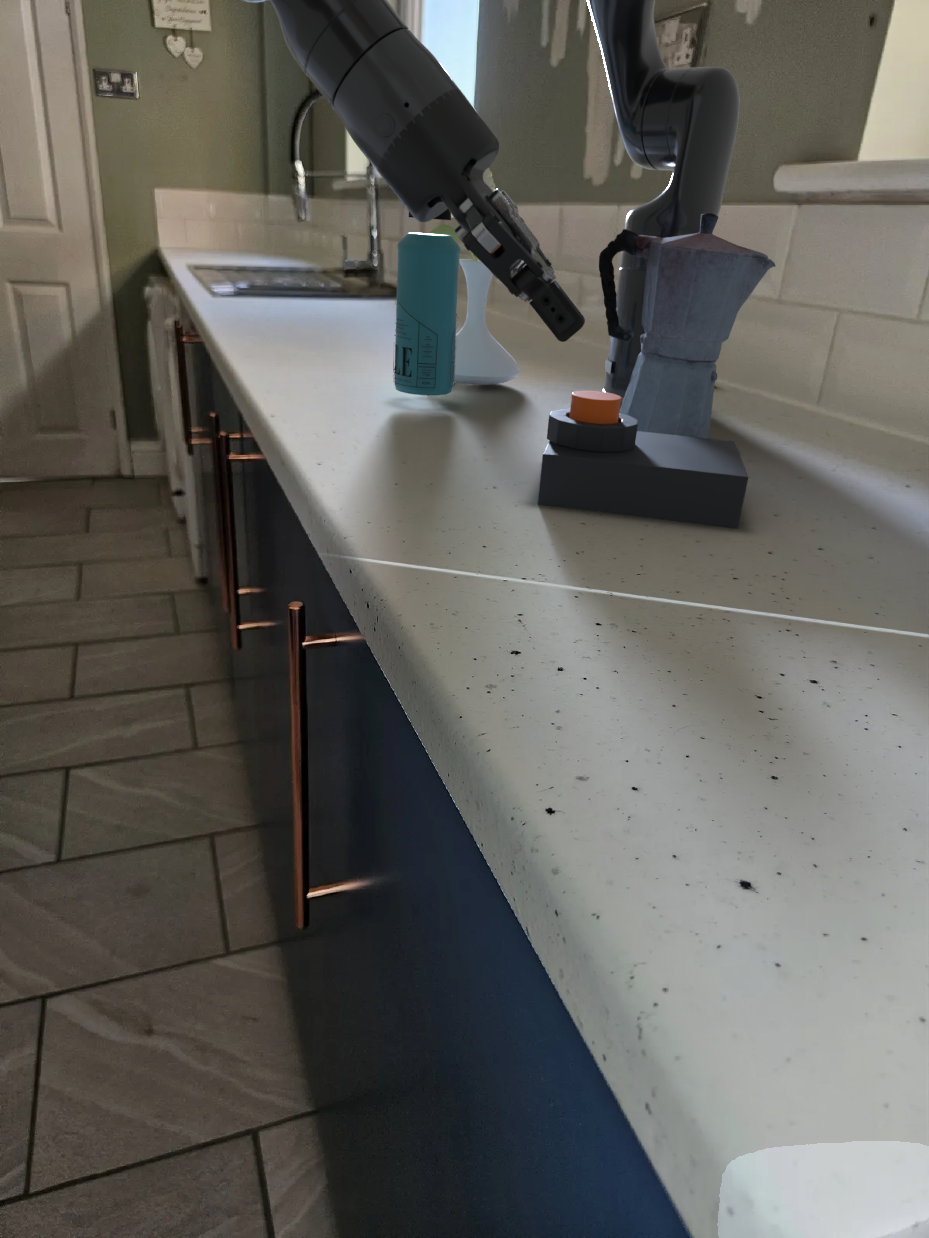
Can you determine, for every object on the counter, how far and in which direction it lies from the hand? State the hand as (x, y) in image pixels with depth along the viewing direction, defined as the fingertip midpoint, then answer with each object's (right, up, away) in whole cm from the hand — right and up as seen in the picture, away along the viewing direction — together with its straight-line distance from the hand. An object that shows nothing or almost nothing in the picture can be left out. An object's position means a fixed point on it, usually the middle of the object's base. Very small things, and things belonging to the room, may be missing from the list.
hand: (574, 333), depth 62 cm
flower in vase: (-8, +8, +44) cm, 46 cm away
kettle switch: (+2, -6, +2) cm, 7 cm away
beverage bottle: (-12, +2, +30) cm, 32 cm away
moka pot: (+11, -3, +22) cm, 25 cm away
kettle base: (+5, -11, +4) cm, 13 cm away
